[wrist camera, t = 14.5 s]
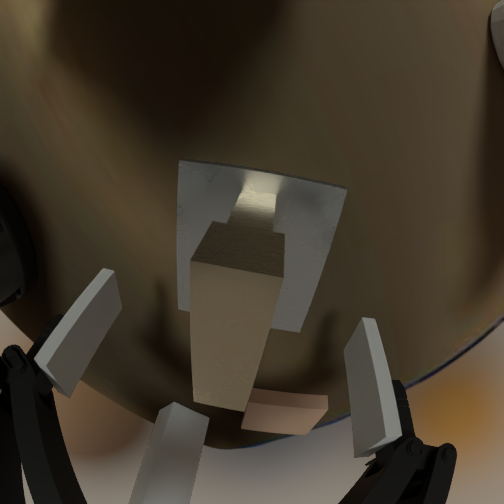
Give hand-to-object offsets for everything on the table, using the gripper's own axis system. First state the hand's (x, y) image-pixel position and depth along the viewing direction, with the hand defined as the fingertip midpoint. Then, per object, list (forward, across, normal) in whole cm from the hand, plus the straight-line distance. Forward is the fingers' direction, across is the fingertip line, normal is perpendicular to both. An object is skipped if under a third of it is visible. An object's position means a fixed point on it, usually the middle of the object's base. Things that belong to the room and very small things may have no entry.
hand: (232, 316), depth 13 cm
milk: (+6, -6, -30) cm, 31 cm away
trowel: (+6, 0, 0) cm, 6 cm away
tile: (+5, +7, -17) cm, 19 cm away
